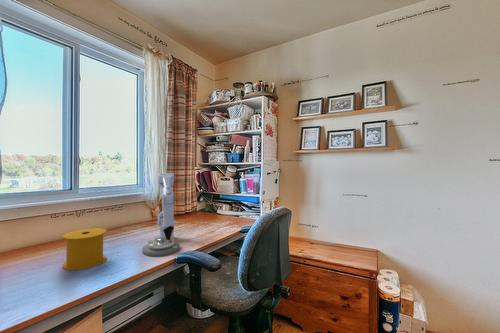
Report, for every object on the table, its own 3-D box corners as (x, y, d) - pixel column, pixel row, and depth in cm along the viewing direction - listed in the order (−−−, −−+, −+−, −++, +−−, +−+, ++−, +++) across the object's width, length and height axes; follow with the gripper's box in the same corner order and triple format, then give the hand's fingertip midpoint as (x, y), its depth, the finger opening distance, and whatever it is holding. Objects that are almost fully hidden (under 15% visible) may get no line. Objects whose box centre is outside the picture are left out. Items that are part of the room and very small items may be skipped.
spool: (110, 262, 116) (110, 232, 116) (64, 274, 103) (65, 240, 103) (101, 252, 129) (102, 226, 129) (60, 261, 116) (60, 232, 116)
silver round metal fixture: (142, 249, 129) (143, 235, 129) (157, 241, 143) (158, 228, 143) (165, 251, 126) (165, 237, 126) (178, 243, 140) (178, 230, 140)
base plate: (155, 243, 146) (155, 239, 146) (185, 245, 143) (185, 241, 143) (134, 255, 126) (134, 250, 126) (168, 257, 123) (168, 253, 123)
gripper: (168, 218, 123) (168, 244, 123) (180, 213, 138) (180, 236, 138) (156, 218, 125) (156, 243, 124) (169, 213, 139) (169, 235, 139)
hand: (168, 239), depth 131 cm, fingers closed
